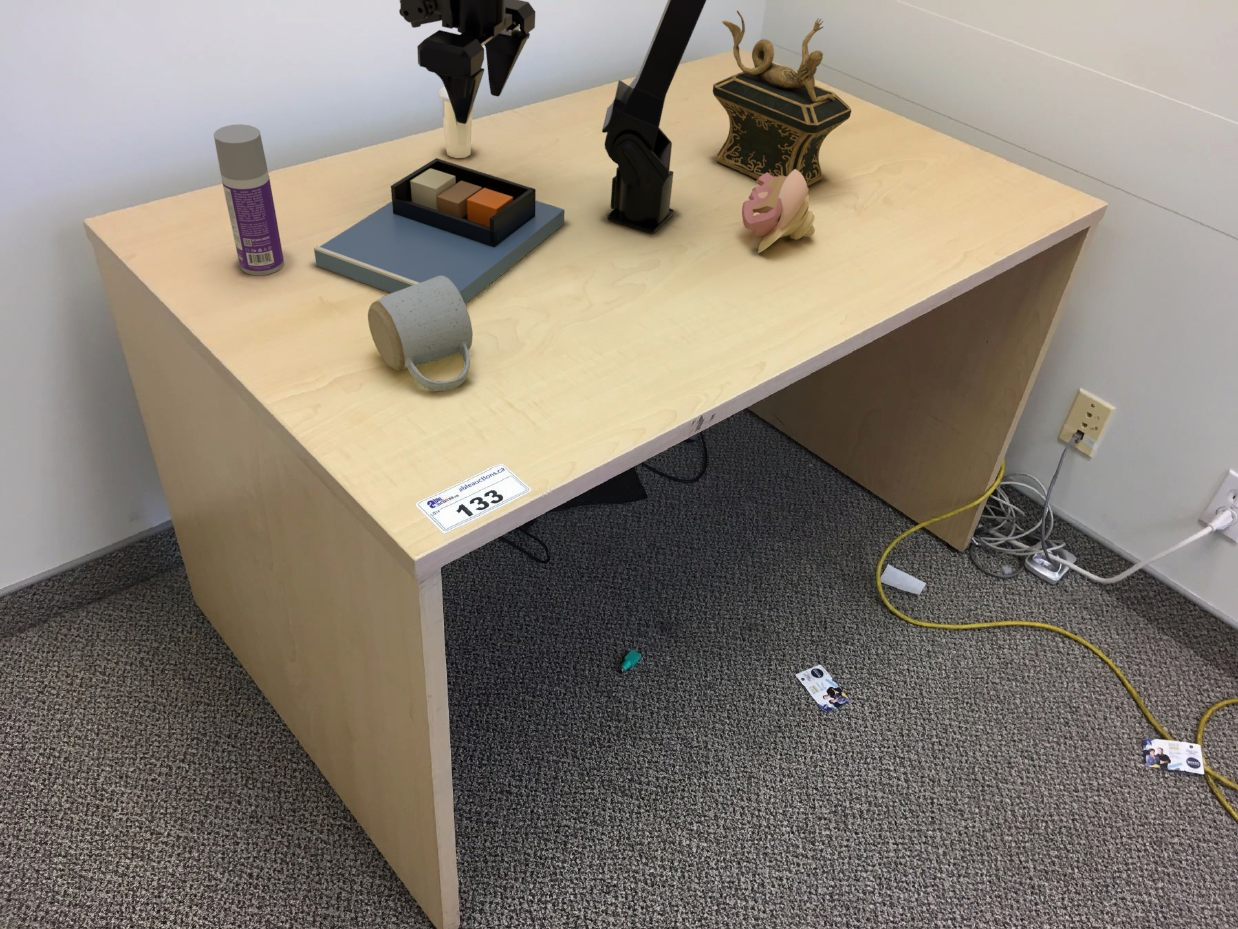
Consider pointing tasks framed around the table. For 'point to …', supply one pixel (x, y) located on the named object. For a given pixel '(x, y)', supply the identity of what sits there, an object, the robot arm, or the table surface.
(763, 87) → the decorative box
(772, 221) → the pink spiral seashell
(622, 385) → the table surface
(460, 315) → the ceramic mug
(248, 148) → the container
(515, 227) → the black open tray
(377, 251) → the blue flat slab
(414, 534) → the table surface
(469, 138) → the milkshake
